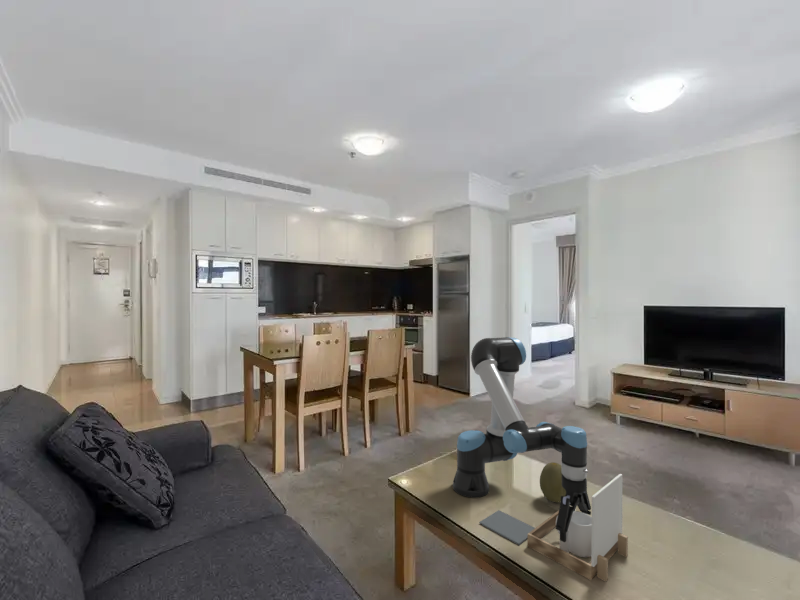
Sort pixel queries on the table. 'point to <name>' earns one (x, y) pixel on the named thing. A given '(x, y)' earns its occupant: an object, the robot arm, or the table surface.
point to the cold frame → (560, 555)
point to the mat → (507, 527)
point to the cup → (580, 534)
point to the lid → (607, 525)
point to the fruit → (552, 482)
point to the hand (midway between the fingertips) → (574, 541)
